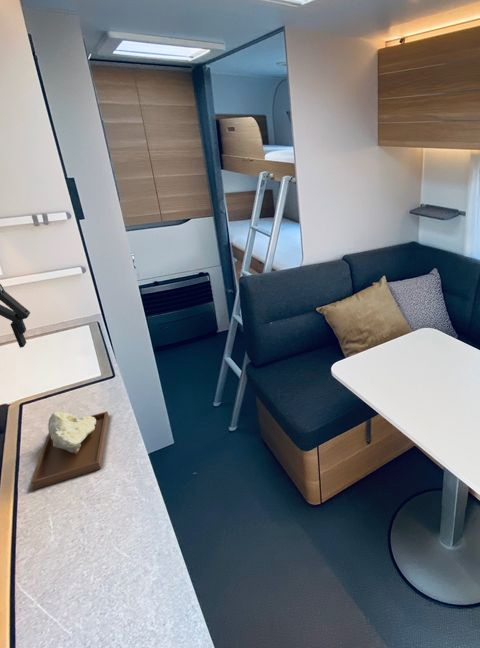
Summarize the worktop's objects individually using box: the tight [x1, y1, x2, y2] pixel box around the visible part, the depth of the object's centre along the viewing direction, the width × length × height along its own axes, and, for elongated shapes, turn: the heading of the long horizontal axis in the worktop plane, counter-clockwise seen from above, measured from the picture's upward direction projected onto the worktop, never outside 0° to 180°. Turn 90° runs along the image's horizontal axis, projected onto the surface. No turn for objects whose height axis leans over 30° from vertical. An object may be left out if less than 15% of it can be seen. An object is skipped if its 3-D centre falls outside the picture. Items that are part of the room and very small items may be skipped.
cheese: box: [47, 410, 96, 454], centre depth 105 cm, size 15×7×15 cm
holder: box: [30, 411, 110, 490], centre depth 105 cm, size 13×21×2 cm, turn 26°
